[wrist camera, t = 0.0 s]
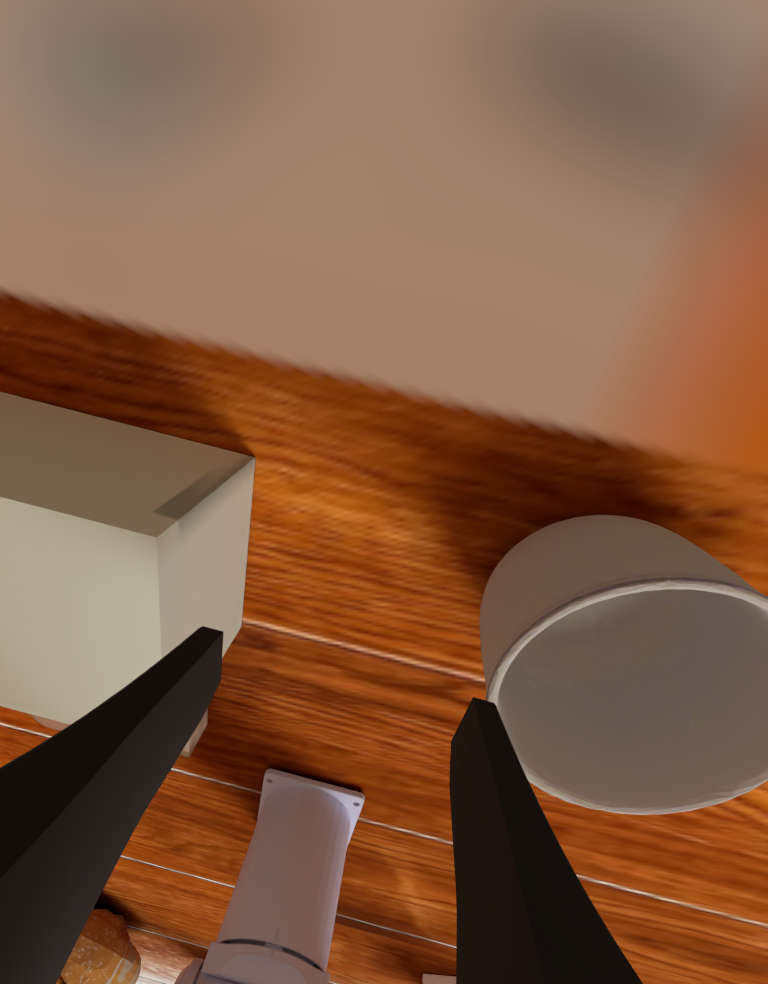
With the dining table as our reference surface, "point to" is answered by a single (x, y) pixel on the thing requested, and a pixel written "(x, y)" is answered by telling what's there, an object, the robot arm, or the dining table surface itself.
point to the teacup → (627, 667)
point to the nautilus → (102, 953)
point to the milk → (438, 979)
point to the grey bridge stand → (109, 552)
